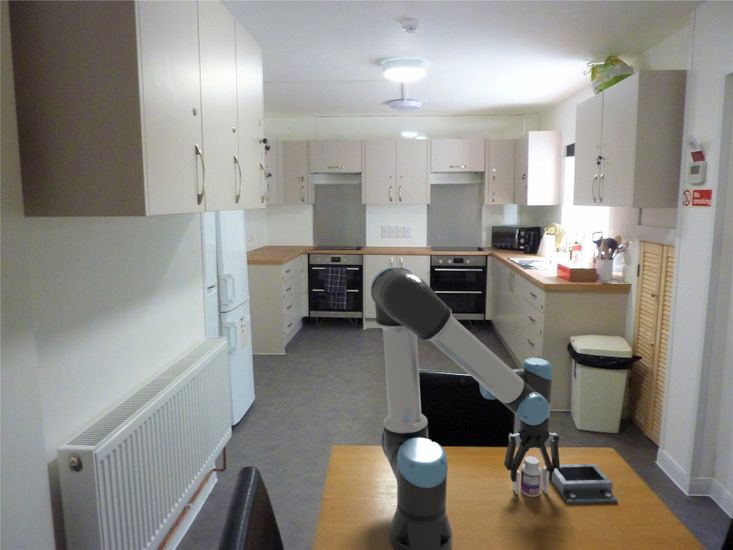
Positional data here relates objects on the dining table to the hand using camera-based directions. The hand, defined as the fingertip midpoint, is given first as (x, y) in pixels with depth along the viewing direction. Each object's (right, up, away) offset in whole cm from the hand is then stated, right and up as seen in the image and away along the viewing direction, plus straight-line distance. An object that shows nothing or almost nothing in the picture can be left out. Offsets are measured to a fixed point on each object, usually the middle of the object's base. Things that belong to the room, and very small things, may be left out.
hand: (530, 490), depth 141 cm
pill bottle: (0, -1, 0) cm, 0 cm away
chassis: (+15, 0, +3) cm, 15 cm away
